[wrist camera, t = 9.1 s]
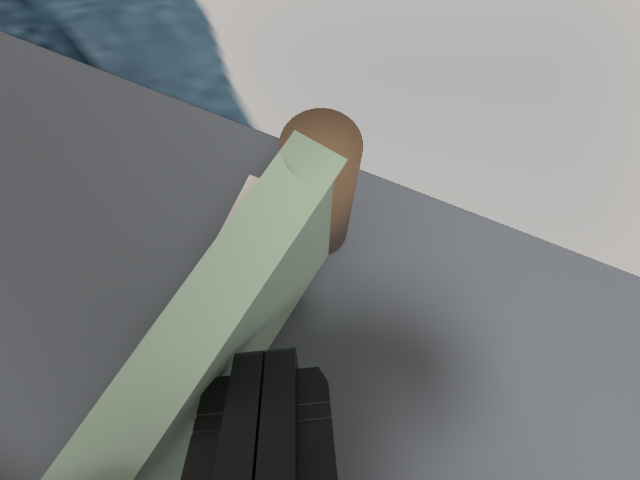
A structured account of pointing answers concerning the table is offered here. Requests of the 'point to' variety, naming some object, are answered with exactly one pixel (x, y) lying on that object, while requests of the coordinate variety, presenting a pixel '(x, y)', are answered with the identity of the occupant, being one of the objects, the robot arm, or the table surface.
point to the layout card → (313, 307)
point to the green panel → (224, 305)
